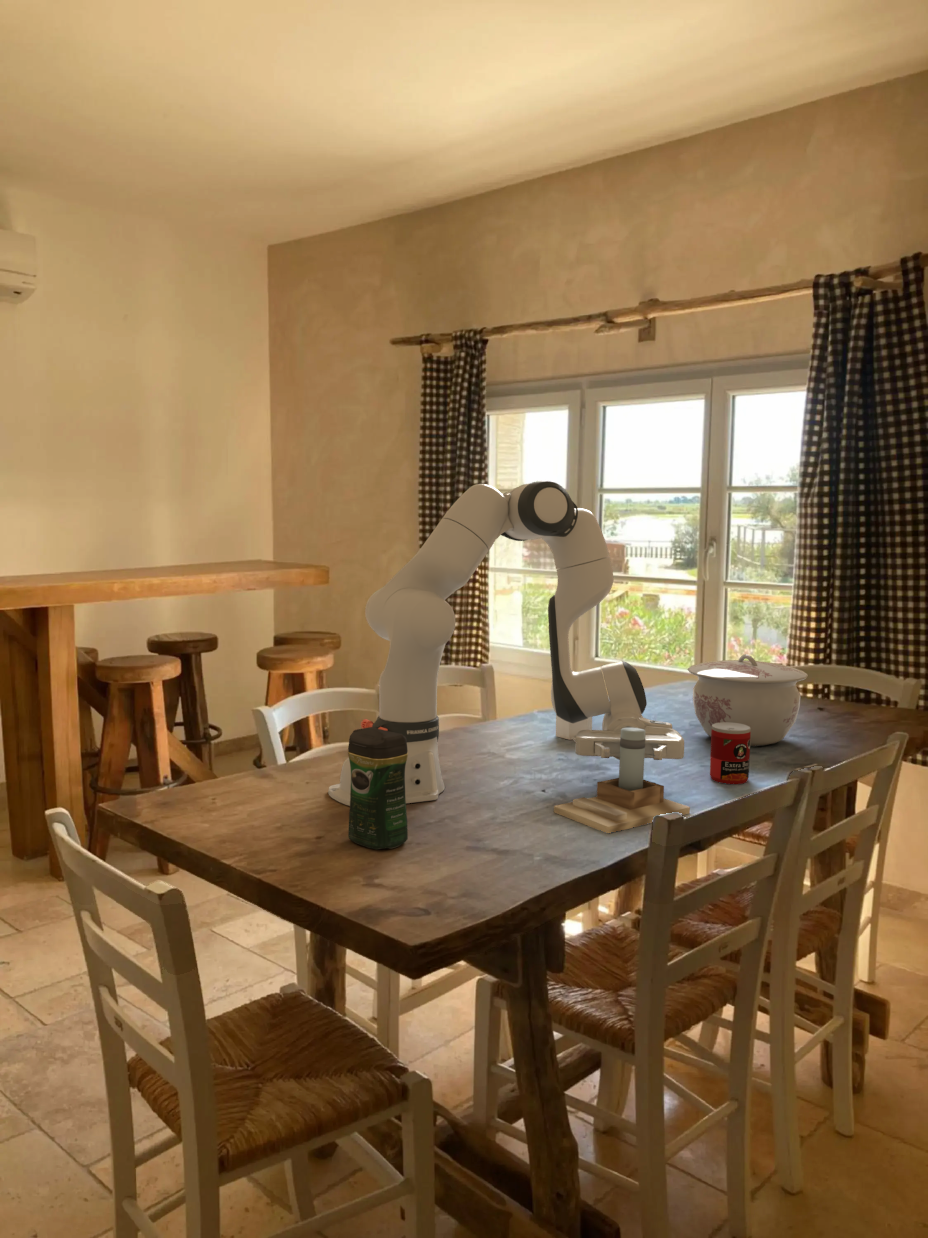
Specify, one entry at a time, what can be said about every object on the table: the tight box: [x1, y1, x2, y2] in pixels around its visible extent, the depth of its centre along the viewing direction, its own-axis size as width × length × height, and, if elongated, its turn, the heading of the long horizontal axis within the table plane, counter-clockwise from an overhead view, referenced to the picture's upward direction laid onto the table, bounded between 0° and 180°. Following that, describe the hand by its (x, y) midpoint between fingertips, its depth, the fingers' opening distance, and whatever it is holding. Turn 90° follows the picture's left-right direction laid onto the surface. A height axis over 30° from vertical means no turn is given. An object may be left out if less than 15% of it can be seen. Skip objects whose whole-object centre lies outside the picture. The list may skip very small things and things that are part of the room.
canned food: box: [709, 722, 751, 785], centre depth 196 cm, size 8×8×11 cm
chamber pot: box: [687, 653, 809, 747], centre depth 230 cm, size 28×28×21 cm
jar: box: [555, 715, 593, 741], centre depth 233 cm, size 9×8×12 cm
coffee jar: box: [347, 727, 409, 850], centre depth 156 cm, size 10×8×19 cm
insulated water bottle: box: [618, 728, 645, 791], centre depth 177 cm, size 4×4×13 cm
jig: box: [553, 777, 691, 834], centre depth 173 cm, size 20×14×4 cm
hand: (631, 754), depth 176 cm, fingers open, 8 cm apart
